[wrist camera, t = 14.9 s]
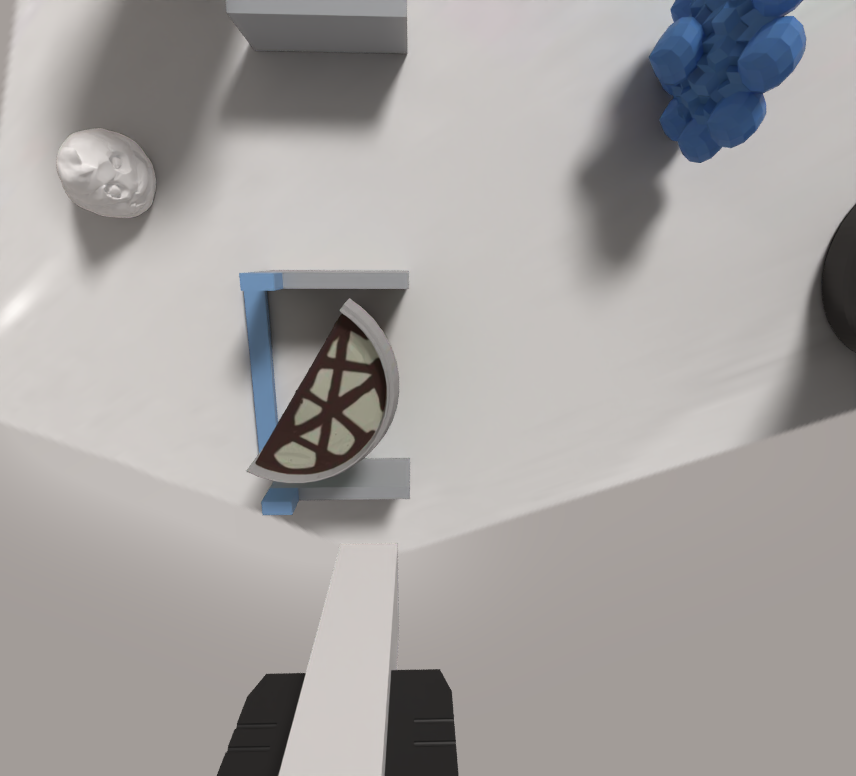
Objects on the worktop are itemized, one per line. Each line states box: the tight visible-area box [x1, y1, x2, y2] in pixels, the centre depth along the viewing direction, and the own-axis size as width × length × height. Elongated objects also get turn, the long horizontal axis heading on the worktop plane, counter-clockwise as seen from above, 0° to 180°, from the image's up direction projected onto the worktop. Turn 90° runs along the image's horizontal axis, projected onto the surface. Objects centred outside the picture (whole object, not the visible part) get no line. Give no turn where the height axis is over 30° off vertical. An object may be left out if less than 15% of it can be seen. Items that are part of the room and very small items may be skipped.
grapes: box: [649, 0, 806, 163], centre depth 27 cm, size 12×7×12 cm, turn 8°
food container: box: [247, 298, 399, 483], centre depth 33 cm, size 12×6×10 cm, turn 148°
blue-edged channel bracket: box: [225, 0, 410, 515], centre depth 32 cm, size 12×31×7 cm, turn 0°
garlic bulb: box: [56, 128, 156, 218], centre depth 30 cm, size 6×6×5 cm
